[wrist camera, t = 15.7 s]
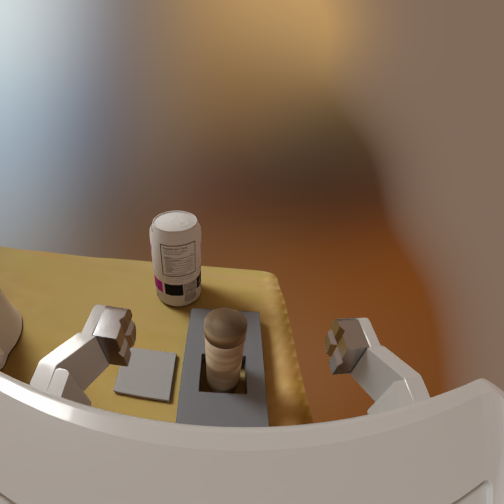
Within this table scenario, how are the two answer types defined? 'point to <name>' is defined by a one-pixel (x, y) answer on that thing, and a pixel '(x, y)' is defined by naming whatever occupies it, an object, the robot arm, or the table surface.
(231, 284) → the table surface
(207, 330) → the maple peg
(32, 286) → the table surface
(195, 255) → the supplement can
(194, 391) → the socket board
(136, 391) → the pad
